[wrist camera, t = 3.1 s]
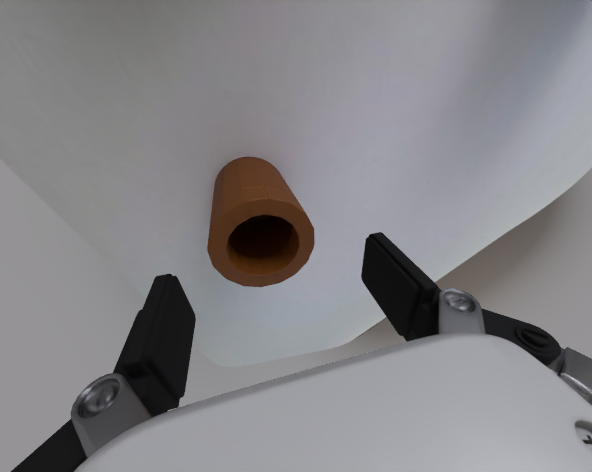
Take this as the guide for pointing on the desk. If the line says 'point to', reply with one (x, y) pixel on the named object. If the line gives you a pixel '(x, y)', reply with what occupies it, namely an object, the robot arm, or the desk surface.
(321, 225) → the desk surface
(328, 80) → the desk surface
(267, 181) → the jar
